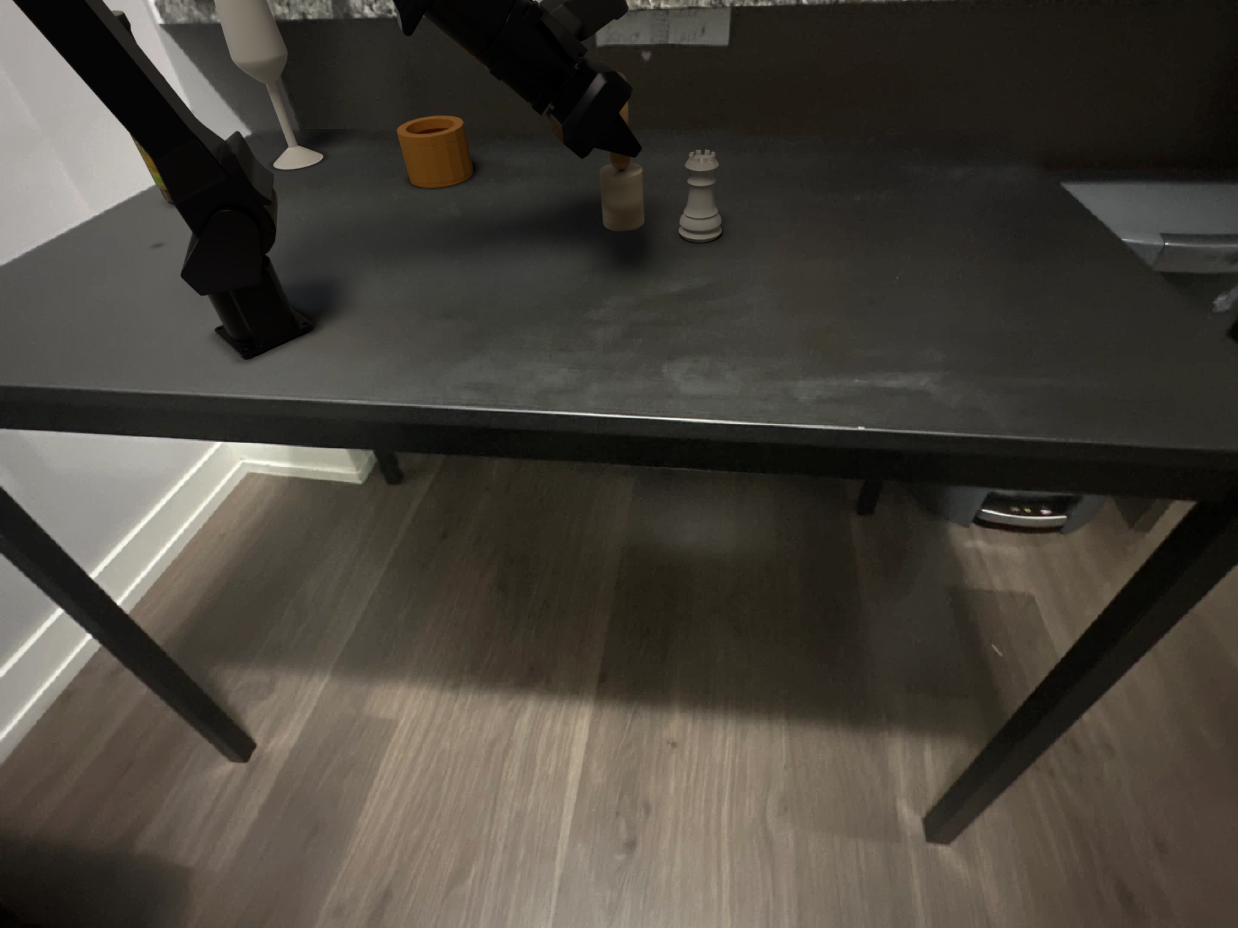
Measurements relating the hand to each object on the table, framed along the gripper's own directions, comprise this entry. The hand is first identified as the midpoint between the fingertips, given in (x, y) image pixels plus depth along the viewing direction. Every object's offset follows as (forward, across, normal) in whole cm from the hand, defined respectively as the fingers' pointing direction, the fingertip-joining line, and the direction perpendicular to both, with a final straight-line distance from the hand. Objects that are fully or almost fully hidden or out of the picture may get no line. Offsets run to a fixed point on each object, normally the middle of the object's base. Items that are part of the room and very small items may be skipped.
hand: (634, 149), depth 62 cm
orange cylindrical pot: (-4, +31, +18) cm, 36 cm away
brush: (+4, 0, +6) cm, 7 cm away
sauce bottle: (-25, +39, +40) cm, 61 cm away
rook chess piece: (+12, +1, +2) cm, 12 cm away
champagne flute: (-16, +47, +31) cm, 58 cm away
